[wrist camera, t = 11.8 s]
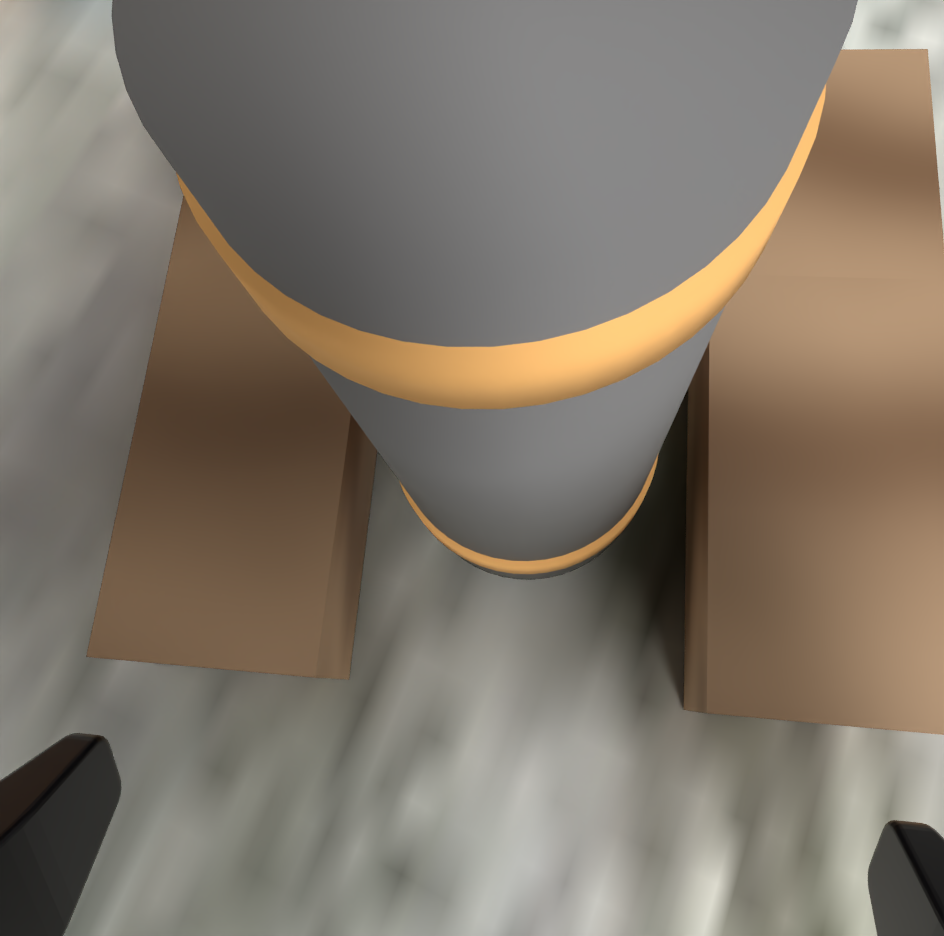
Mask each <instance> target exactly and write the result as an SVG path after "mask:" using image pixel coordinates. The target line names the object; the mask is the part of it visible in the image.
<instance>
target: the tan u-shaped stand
mask: <svg viewBox="0 0 944 936" xmlns="http://www.w3.org/2000/svg"><path fill="white" fill-rule="evenodd" d="M376 457H377V449H376V448H375V447H374V445H373V444H372V442H371V441H370V440H369V438H368V437H367V436H366V434H365V433H364V431H363V430H362V429H361V427H360V426H359V424H358V423H357V422H356V420H355V419H354V418H353V416H352V415H351V413H350V412H349V411H348V409H347V408H346V406H345V405H344V404H343V402H342V401H341V400H340V398H339V397H338V395H337V394H336V393H335V391H334V390H333V388H332V387H331V386H330V384H329V383H328V382H327V380H326V379H325V377H324V376H323V375H322V373H321V372H320V370H319V369H318V368H317V366H316V365H315V364H314V362H313V361H312V359H311V358H310V357H309V355H308V354H307V353H306V352H304V351H303V350H302V349H301V348H299V347H298V346H297V345H296V344H294V343H293V342H292V341H291V340H289V339H288V338H287V337H286V336H285V335H284V334H283V333H282V332H281V331H280V330H279V328H278V327H277V326H276V325H275V324H274V323H273V322H272V321H271V320H270V319H269V318H268V317H267V316H266V315H265V314H264V312H263V311H262V310H261V308H260V307H259V306H258V305H257V303H256V302H255V301H254V299H253V298H252V297H251V295H250V294H249V293H248V291H247V290H246V289H245V287H244V286H243V285H242V283H241V282H240V281H239V280H238V278H237V277H236V276H235V274H234V273H233V272H232V270H231V269H230V268H229V266H228V265H227V264H226V262H225V261H224V260H223V258H222V257H221V256H220V254H219V253H218V252H217V250H216V249H215V247H214V246H213V245H212V243H211V242H210V240H209V239H208V237H207V236H206V234H205V233H204V232H203V230H202V229H201V227H200V226H199V224H198V223H197V221H196V219H195V217H194V215H193V213H192V211H191V209H190V207H189V205H188V203H187V201H186V199H185V196H183V201H182V205H181V210H180V215H179V220H178V224H177V229H176V234H175V239H174V243H173V248H172V253H171V258H170V262H169V267H168V272H167V276H166V281H165V286H164V291H163V295H162V300H161V305H160V310H159V314H158V319H157V324H156V329H155V333H154V338H153V343H152V348H151V352H150V357H149V362H148V366H147V371H146V376H145V381H144V385H143V390H142V395H141V400H140V404H139V409H138V414H137V419H136V423H135V428H134V433H133V437H132V442H131V447H130V452H129V456H128V461H127V466H126V471H125V475H124V480H123V485H122V490H121V494H120V499H119V504H118V509H117V513H116V518H115V523H114V527H113V532H112V537H111V542H110V546H109V551H108V556H107V561H106V565H105V570H104V575H103V580H102V584H101V589H100V594H99V598H98V603H97V608H96V613H95V617H94V622H93V627H92V632H91V636H90V641H89V646H88V651H87V655H86V657H94V658H105V659H116V660H127V661H138V662H149V663H160V664H171V665H182V666H193V667H204V668H215V669H226V670H237V671H248V672H259V673H270V674H281V675H292V676H303V677H314V678H331V679H349V676H350V667H351V659H352V651H353V643H354V635H355V627H356V619H357V611H358V603H359V595H360V587H361V579H362V570H363V562H364V554H365V546H366V538H367V530H368V522H369V514H370V506H371V498H372V490H373V481H374V473H375V465H376ZM684 710H688V711H695V712H702V713H711V714H722V715H733V716H744V717H755V718H766V719H777V720H788V721H799V722H810V723H821V724H832V725H843V726H854V727H865V728H876V729H887V730H898V731H909V732H920V733H931V734H942V735H944V242H943V230H942V218H941V206H940V193H939V181H938V169H937V157H936V145H935V133H934V121H933V109H932V97H931V85H930V73H929V61H928V49H876V50H841V51H840V53H839V55H838V58H837V60H836V63H835V65H834V67H833V69H832V71H831V74H830V76H829V78H828V80H827V82H826V92H825V101H824V105H823V109H822V113H821V118H820V122H819V126H818V130H817V135H816V138H815V140H814V143H813V145H812V148H811V150H810V152H809V155H808V157H807V160H806V162H805V165H804V167H803V169H802V172H801V174H800V176H799V178H798V180H797V183H796V185H795V187H794V189H793V191H792V193H791V195H790V197H789V199H788V201H787V203H786V205H785V207H784V209H783V212H782V214H781V216H780V218H779V220H778V222H777V224H776V226H775V228H774V230H773V232H772V234H771V236H770V238H769V240H768V243H767V245H766V247H765V249H764V251H763V252H762V254H761V256H760V257H759V259H758V261H757V262H756V264H755V266H754V267H753V269H752V270H751V272H750V274H749V275H748V277H747V279H746V280H745V282H744V283H743V284H742V286H741V287H740V288H739V289H738V290H737V292H736V293H735V294H734V295H733V297H732V298H731V299H730V300H729V301H728V303H727V304H726V305H725V308H724V310H723V312H722V314H721V316H720V319H719V321H718V323H717V325H716V327H715V330H714V332H713V334H712V336H711V339H710V341H709V343H708V345H707V347H706V350H705V352H704V354H703V356H702V358H701V361H700V363H699V365H698V367H697V369H696V372H695V374H694V376H693V378H692V380H691V383H690V385H689V387H688V432H687V503H686V575H685V646H684Z"/></svg>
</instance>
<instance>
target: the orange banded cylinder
mask: <svg viewBox="0 0 944 936" xmlns="http://www.w3.org/2000/svg"><path fill="white" fill-rule="evenodd" d="M857 1H858V0H113V2H112V22H113V31H114V41H115V50H116V55H117V59H118V62H119V66H120V69H121V73H122V76H123V80H124V83H125V87H126V90H127V92H128V94H129V97H130V99H131V101H132V103H133V105H134V107H135V109H136V111H137V113H138V115H139V118H140V120H141V122H142V124H143V126H144V127H145V129H146V130H147V131H148V133H149V134H150V136H151V137H152V139H153V140H154V141H155V143H156V144H157V146H158V147H159V149H160V150H161V151H162V153H163V154H164V156H165V157H166V159H167V160H168V161H169V163H170V164H171V166H172V167H173V168H174V170H175V171H176V174H177V177H178V181H179V184H180V188H181V190H182V192H183V194H184V196H185V199H186V201H187V203H188V205H189V207H190V209H191V211H192V213H193V215H194V217H195V219H196V221H197V223H198V224H199V226H200V227H201V229H202V230H203V232H204V233H205V234H206V236H207V237H208V239H209V240H210V242H211V243H212V245H213V246H214V247H215V249H216V250H217V252H218V253H219V254H220V256H221V257H222V258H223V260H224V261H225V262H226V264H227V265H228V266H229V268H230V269H231V270H232V272H233V273H234V274H235V276H236V277H237V278H238V280H239V281H240V282H241V283H242V285H243V286H244V287H245V289H246V290H247V291H248V293H249V294H250V295H251V297H252V298H253V299H254V301H255V302H256V303H257V305H258V306H259V307H260V308H261V310H262V311H263V312H264V314H265V315H266V316H267V317H268V318H269V319H270V320H271V321H272V322H273V323H274V324H275V325H276V326H277V327H278V328H279V330H280V331H281V332H282V333H283V334H284V335H285V336H286V337H287V338H288V339H289V340H291V341H292V342H293V343H294V344H296V345H297V346H298V347H299V348H301V349H302V350H303V351H304V352H306V353H307V354H308V355H309V357H310V358H311V359H312V361H313V362H314V364H315V365H316V366H317V368H318V369H319V370H320V372H321V373H322V375H323V376H324V377H325V379H326V380H327V382H328V383H329V384H330V386H331V387H332V388H333V390H334V391H335V393H336V394H337V395H338V397H339V398H340V400H341V401H342V402H343V404H344V405H345V406H346V408H347V409H348V411H349V412H350V413H351V415H352V416H353V418H354V419H355V420H356V422H357V423H358V424H359V426H360V427H361V429H362V430H363V431H364V433H365V434H366V436H367V437H368V438H369V440H370V441H371V442H372V444H373V445H374V447H375V448H376V449H377V451H378V452H379V454H380V455H381V456H382V458H383V459H384V460H385V462H386V463H387V465H388V466H389V467H390V469H391V470H392V472H393V473H394V474H395V476H396V477H397V478H398V480H399V482H400V484H401V487H402V490H403V492H404V494H405V496H406V498H407V500H408V501H409V503H410V505H411V506H412V508H413V509H414V511H415V512H416V514H417V515H418V516H419V518H420V519H421V520H422V522H423V523H424V524H425V526H426V527H427V528H428V529H429V530H430V532H431V533H432V534H433V535H434V536H435V537H436V538H437V539H438V540H439V541H440V542H441V543H443V544H444V545H445V546H446V547H447V548H449V549H450V550H451V551H453V552H454V553H456V554H457V555H458V556H460V557H461V558H462V559H464V560H465V561H467V562H468V563H470V564H472V565H473V566H475V567H477V568H479V569H482V570H484V571H486V572H489V573H492V574H495V575H499V576H502V577H508V578H514V579H542V578H549V577H553V576H558V575H562V574H565V573H567V572H570V571H572V570H575V569H577V568H579V567H581V566H583V565H585V564H586V563H588V562H590V561H591V560H593V559H594V558H595V557H597V556H598V555H600V554H601V553H602V552H603V551H604V550H605V549H606V548H607V547H608V546H609V545H610V544H612V542H613V541H614V540H615V539H616V538H617V537H618V536H619V535H620V534H621V533H622V532H623V530H624V529H625V528H626V527H627V525H628V524H629V523H630V522H631V520H632V519H633V517H634V515H635V514H636V512H637V510H638V509H639V507H640V505H641V503H642V501H643V499H644V497H645V495H646V493H647V491H648V488H649V486H650V483H651V481H652V479H653V476H654V472H655V468H656V464H657V460H658V453H659V451H660V449H661V447H662V444H663V442H664V440H665V438H666V436H667V433H668V431H669V429H670V427H671V425H672V422H673V420H674V418H675V416H676V414H677V411H678V409H679V407H680V405H681V403H682V400H683V398H684V396H685V394H686V392H687V389H688V387H689V385H690V383H691V380H692V378H693V376H694V374H695V372H696V369H697V367H698V365H699V363H700V361H701V358H702V356H703V354H704V352H705V350H706V347H707V345H708V343H709V341H710V339H711V336H712V334H713V332H714V330H715V327H716V325H717V323H718V321H719V319H720V316H721V314H722V312H723V310H724V308H725V305H726V304H727V303H728V301H729V300H730V299H731V298H732V297H733V295H734V294H735V293H736V292H737V290H738V289H739V288H740V287H741V286H742V284H743V283H744V282H745V280H746V279H747V277H748V275H749V274H750V272H751V270H752V269H753V267H754V266H755V264H756V262H757V261H758V259H759V257H760V256H761V254H762V252H763V251H764V249H765V247H766V245H767V243H768V240H769V238H770V236H771V234H772V232H773V230H774V228H775V226H776V224H777V222H778V220H779V218H780V216H781V214H782V212H783V209H784V207H785V205H786V203H787V201H788V199H789V197H790V195H791V193H792V191H793V189H794V187H795V185H796V183H797V180H798V178H799V176H800V174H801V172H802V169H803V167H804V165H805V162H806V160H807V157H808V155H809V152H810V150H811V148H812V145H813V143H814V140H815V138H816V135H817V130H818V126H819V122H820V118H821V113H822V109H823V105H824V101H825V92H826V82H827V80H828V78H829V76H830V74H831V71H832V69H833V67H834V65H835V63H836V60H837V58H838V55H839V53H840V51H841V48H842V46H843V43H844V41H845V39H846V36H847V34H848V31H849V29H850V27H851V24H852V22H853V18H854V13H855V9H856V5H857Z"/></svg>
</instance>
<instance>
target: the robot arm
mask: <svg viewBox="0 0 944 936" xmlns="http://www.w3.org/2000/svg"><path fill="white" fill-rule="evenodd" d="M120 794H121V779H120V776H119V773H118V769H117V766H116V763H115V760H114V757H113V754H112V751H111V748H110V744H109V742H108V740H107V739H106V738H104V737H103V736H100V735H91V734H82V733H74V734H70V735H68V736H66V737H64V738H62V739H61V740H59V741H58V742H56V743H55V744H53V745H52V746H50V747H49V748H47V749H46V750H45V751H43V752H42V753H40V754H39V755H37V756H36V757H34V758H33V759H31V760H30V761H28V762H27V763H25V764H24V765H22V766H21V767H19V768H18V769H17V770H15V771H14V772H12V773H11V774H9V775H8V776H6V777H5V778H3V779H2V780H0V936H63V934H64V932H65V930H66V928H67V926H68V924H69V921H70V919H71V917H72V915H73V912H74V910H75V908H76V905H77V903H78V900H79V898H80V895H81V893H82V890H83V888H84V886H85V883H86V881H87V878H88V876H89V873H90V871H91V868H92V866H93V863H94V861H95V858H96V856H97V854H98V851H99V849H100V846H101V844H102V841H103V839H104V836H105V834H106V831H107V829H108V826H109V824H110V822H111V819H112V817H113V814H114V812H115V809H116V807H117V804H118V801H119V798H120ZM868 887H869V894H870V899H871V904H872V909H873V915H874V920H875V925H876V930H877V936H944V838H943V837H942V836H941V835H940V834H939V833H938V832H937V831H936V830H935V829H933V828H932V827H930V826H929V825H927V824H923V823H916V822H906V821H897V820H893V821H890V822H888V823H887V824H886V825H885V827H884V828H883V831H882V833H881V836H880V839H879V841H878V844H877V846H876V849H875V852H874V854H873V857H872V860H871V862H870V865H869V870H868Z"/></svg>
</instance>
